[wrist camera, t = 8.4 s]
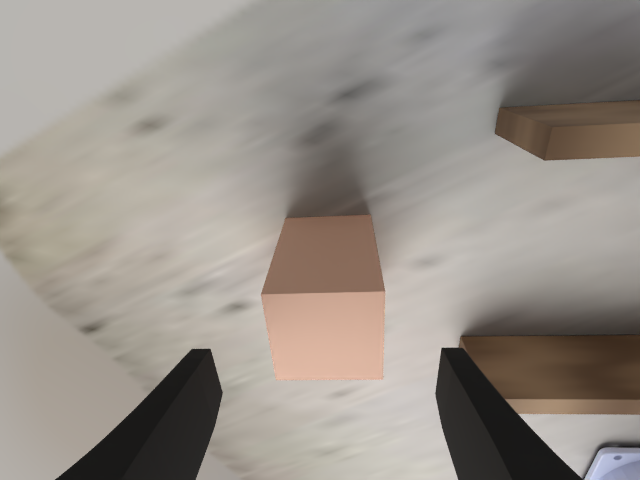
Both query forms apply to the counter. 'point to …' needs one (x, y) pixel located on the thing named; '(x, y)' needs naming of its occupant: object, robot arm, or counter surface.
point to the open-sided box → (566, 351)
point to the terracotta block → (326, 300)
